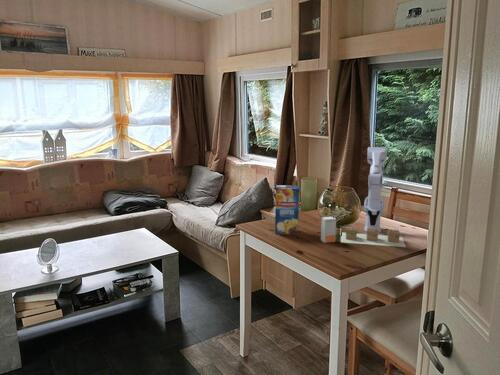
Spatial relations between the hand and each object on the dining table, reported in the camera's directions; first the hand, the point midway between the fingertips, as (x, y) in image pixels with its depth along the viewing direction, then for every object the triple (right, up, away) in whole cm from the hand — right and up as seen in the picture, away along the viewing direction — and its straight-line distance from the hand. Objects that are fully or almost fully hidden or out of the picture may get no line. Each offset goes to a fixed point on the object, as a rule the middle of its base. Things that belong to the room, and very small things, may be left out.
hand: (372, 225), depth 213 cm
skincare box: (-22, -8, 0) cm, 24 cm away
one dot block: (+10, -8, -1) cm, 12 cm away
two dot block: (-10, -7, +4) cm, 12 cm away
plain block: (0, -7, +1) cm, 7 cm away
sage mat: (0, -7, +2) cm, 8 cm away
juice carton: (-41, -5, +15) cm, 44 cm away
